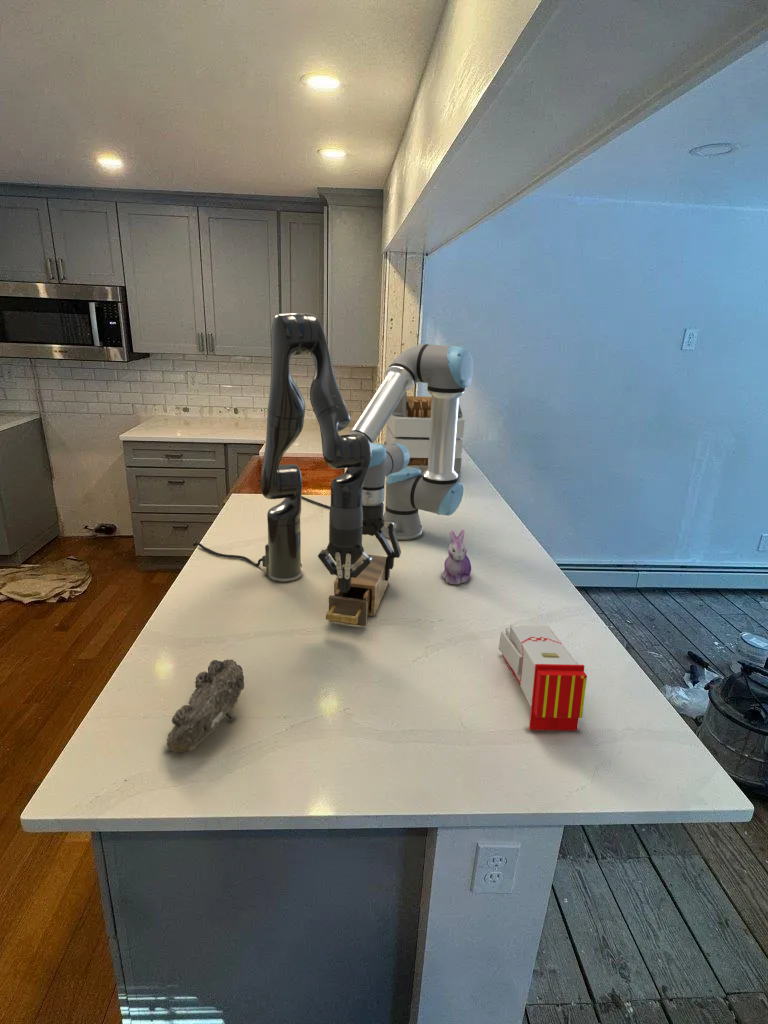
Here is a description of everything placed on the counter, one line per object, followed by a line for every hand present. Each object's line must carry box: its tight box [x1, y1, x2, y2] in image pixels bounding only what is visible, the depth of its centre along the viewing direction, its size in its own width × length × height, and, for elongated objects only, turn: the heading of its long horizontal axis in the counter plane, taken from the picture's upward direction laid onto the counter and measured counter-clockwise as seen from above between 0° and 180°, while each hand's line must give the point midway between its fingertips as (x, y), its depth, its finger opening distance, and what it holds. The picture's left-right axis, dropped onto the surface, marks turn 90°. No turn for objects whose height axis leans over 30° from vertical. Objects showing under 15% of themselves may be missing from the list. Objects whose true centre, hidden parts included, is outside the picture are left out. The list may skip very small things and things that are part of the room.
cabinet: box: [333, 553, 389, 617], centre depth 154 cm, size 19×11×9 cm, turn 169°
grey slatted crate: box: [383, 391, 465, 483], centre depth 268 cm, size 34×33×41 cm
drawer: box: [325, 586, 372, 627], centre depth 144 cm, size 24×10×7 cm, turn 169°
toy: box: [498, 624, 588, 732], centre depth 119 cm, size 12×13×30 cm
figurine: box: [442, 529, 472, 585], centre depth 166 cm, size 9×10×15 cm
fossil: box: [166, 658, 245, 754], centre depth 106 cm, size 22×10×15 cm
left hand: (344, 591), depth 133 cm, fingers closed
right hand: (367, 576), depth 159 cm, fingers closed on cabinet, 11 cm apart
